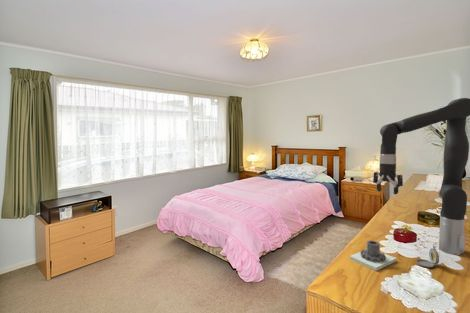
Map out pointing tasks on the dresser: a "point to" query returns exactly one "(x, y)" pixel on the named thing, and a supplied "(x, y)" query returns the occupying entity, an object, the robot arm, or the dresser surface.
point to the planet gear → (373, 252)
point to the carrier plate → (374, 264)
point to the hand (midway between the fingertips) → (387, 192)
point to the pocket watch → (433, 257)
